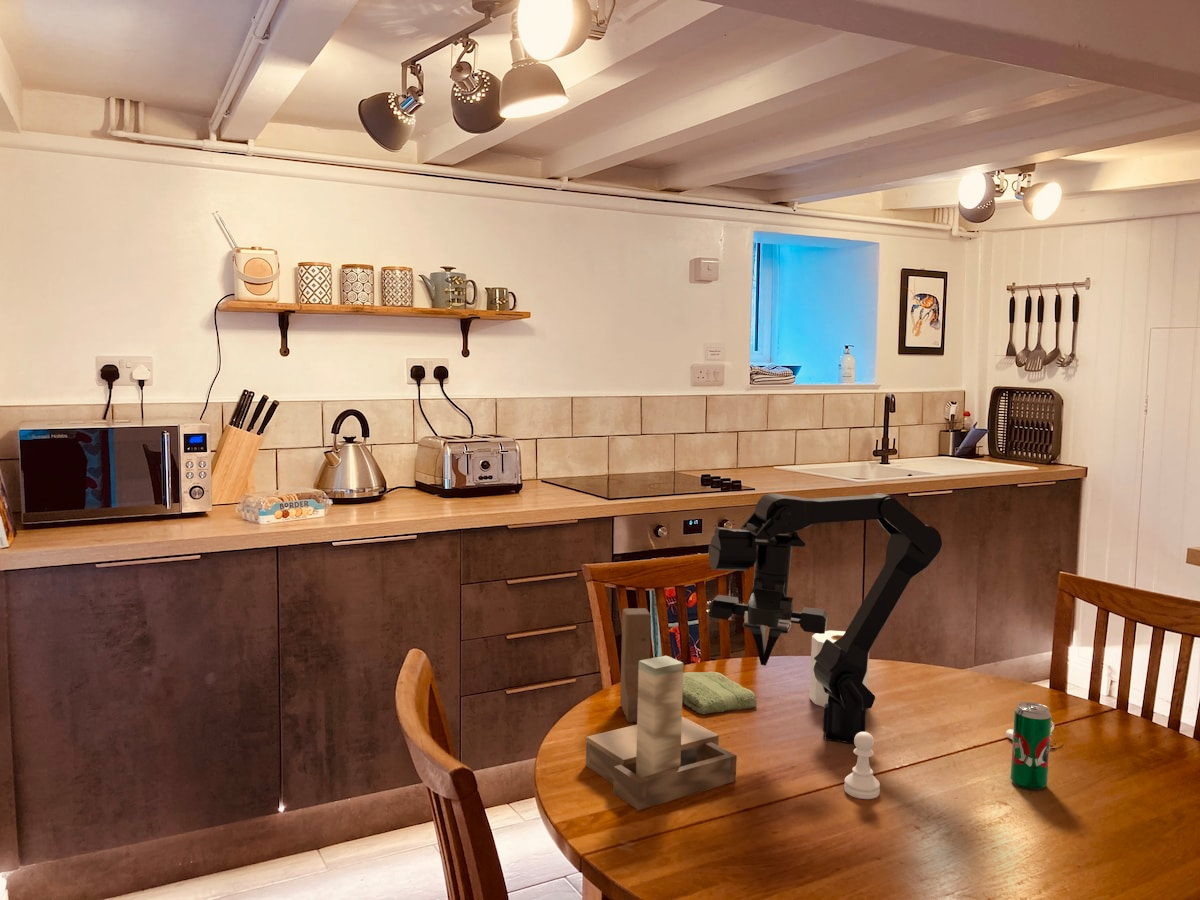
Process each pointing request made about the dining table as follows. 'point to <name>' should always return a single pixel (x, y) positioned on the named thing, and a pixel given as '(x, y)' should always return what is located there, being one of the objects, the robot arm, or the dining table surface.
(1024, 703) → the soda can
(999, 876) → the dining table surface
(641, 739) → the tall beige rectangular block
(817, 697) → the toilet paper
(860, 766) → the chess pawn
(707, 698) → the washcloth
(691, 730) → the box with sliding lid
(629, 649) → the wooden block
